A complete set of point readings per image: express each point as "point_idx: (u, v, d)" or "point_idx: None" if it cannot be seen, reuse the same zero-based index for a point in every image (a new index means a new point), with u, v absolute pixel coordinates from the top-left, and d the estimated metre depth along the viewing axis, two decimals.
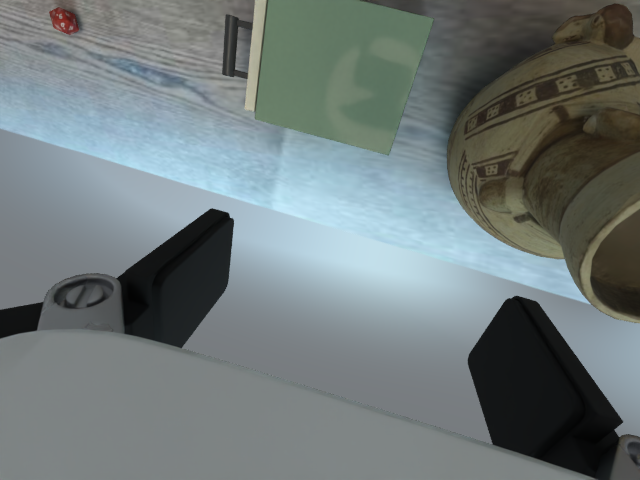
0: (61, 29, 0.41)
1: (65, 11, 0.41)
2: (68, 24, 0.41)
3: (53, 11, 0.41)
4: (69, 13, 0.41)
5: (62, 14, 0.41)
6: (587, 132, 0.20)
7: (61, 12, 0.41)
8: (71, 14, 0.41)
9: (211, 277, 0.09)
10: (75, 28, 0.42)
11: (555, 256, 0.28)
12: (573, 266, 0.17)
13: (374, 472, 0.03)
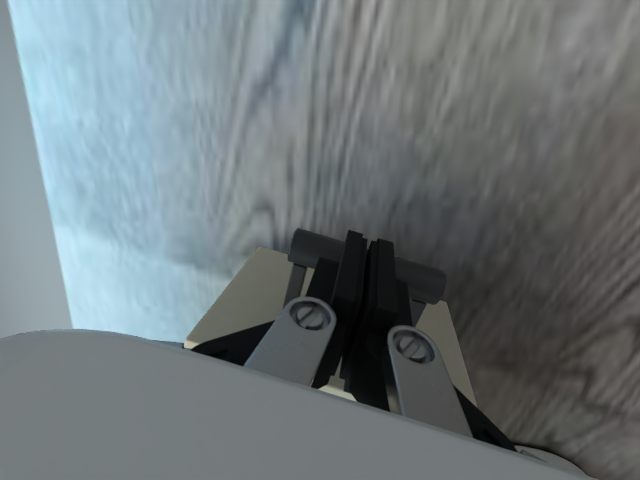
0: None
1: None
2: None
3: None
4: None
5: None
6: None
7: None
8: None
9: None
10: None
11: None
12: None
13: (374, 473, 0.03)
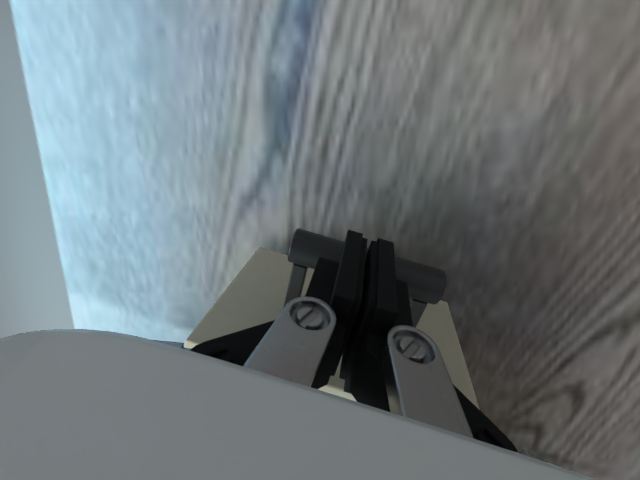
0: None
1: None
2: None
3: None
4: None
5: None
6: None
7: None
8: None
9: None
10: None
11: None
12: None
13: (374, 472, 0.03)
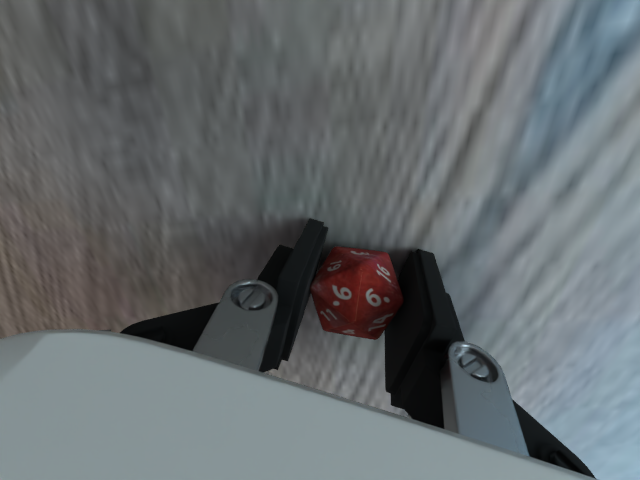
0: (388, 312, 0.09)
1: (324, 270, 0.10)
2: (372, 275, 0.09)
3: (323, 313, 0.10)
4: (331, 259, 0.10)
5: (335, 281, 0.09)
6: None
7: (328, 284, 0.09)
8: (334, 254, 0.10)
9: None
10: (383, 260, 0.10)
11: None
12: None
13: (373, 472, 0.03)
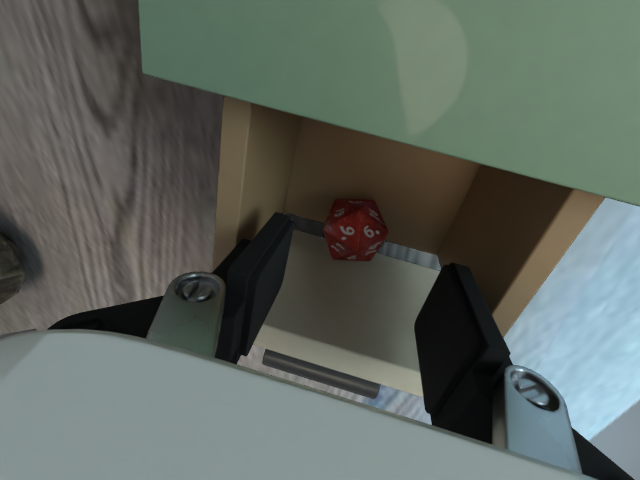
0: (378, 241, 0.13)
1: (332, 216, 0.13)
2: (367, 216, 0.13)
3: (333, 247, 0.14)
4: (335, 208, 0.14)
5: (342, 223, 0.13)
6: None
7: (336, 226, 0.13)
8: (337, 204, 0.14)
9: (277, 275, 0.10)
10: (372, 205, 0.14)
11: None
12: None
13: (374, 473, 0.03)
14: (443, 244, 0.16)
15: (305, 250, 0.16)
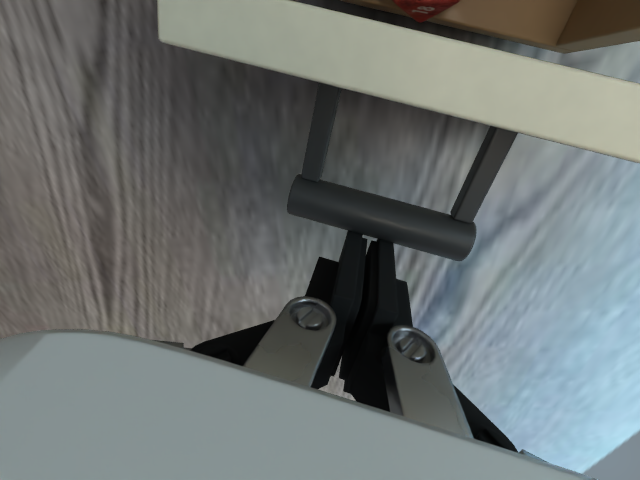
0: None
1: None
2: None
3: None
4: None
5: None
6: None
7: None
8: None
9: None
10: None
11: None
12: None
13: (373, 472, 0.03)
14: (569, 19, 0.10)
15: None
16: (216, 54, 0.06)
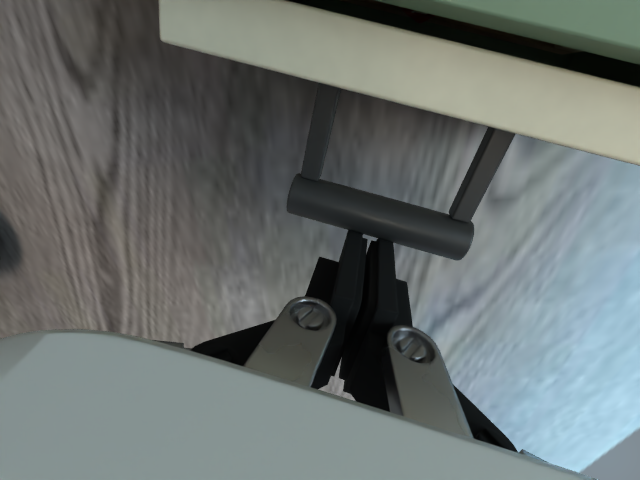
0: None
1: None
2: None
3: None
4: None
5: None
6: None
7: None
8: None
9: None
10: None
11: None
12: None
13: (373, 472, 0.03)
14: None
15: None
16: (217, 54, 0.06)
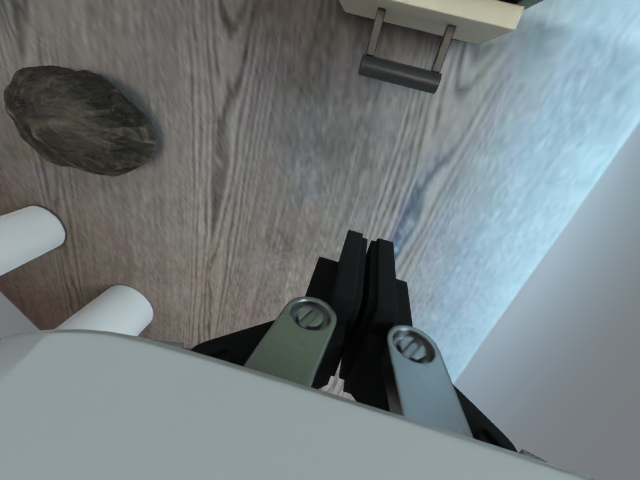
0: None
1: None
2: None
3: None
4: None
5: None
6: None
7: None
8: None
9: None
10: None
11: None
12: None
13: (374, 472, 0.03)
14: None
15: None
16: None
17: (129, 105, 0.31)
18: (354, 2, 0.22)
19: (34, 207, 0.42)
